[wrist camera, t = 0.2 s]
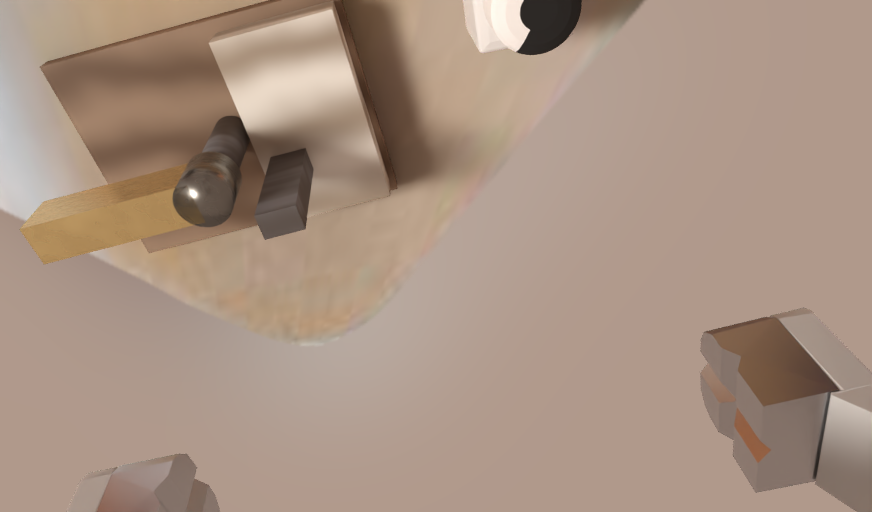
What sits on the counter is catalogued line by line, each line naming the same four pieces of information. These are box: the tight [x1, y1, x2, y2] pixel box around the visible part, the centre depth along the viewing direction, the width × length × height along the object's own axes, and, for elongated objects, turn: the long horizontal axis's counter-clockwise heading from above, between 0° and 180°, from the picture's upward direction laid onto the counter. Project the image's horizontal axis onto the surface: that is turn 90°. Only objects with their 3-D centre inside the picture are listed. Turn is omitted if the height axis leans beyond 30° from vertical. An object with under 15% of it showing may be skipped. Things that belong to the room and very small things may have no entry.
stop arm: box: [20, 152, 242, 264], centre depth 46 cm, size 14×4×4 cm, turn 103°
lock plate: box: [40, 0, 397, 253], centre depth 50 cm, size 18×24×14 cm
